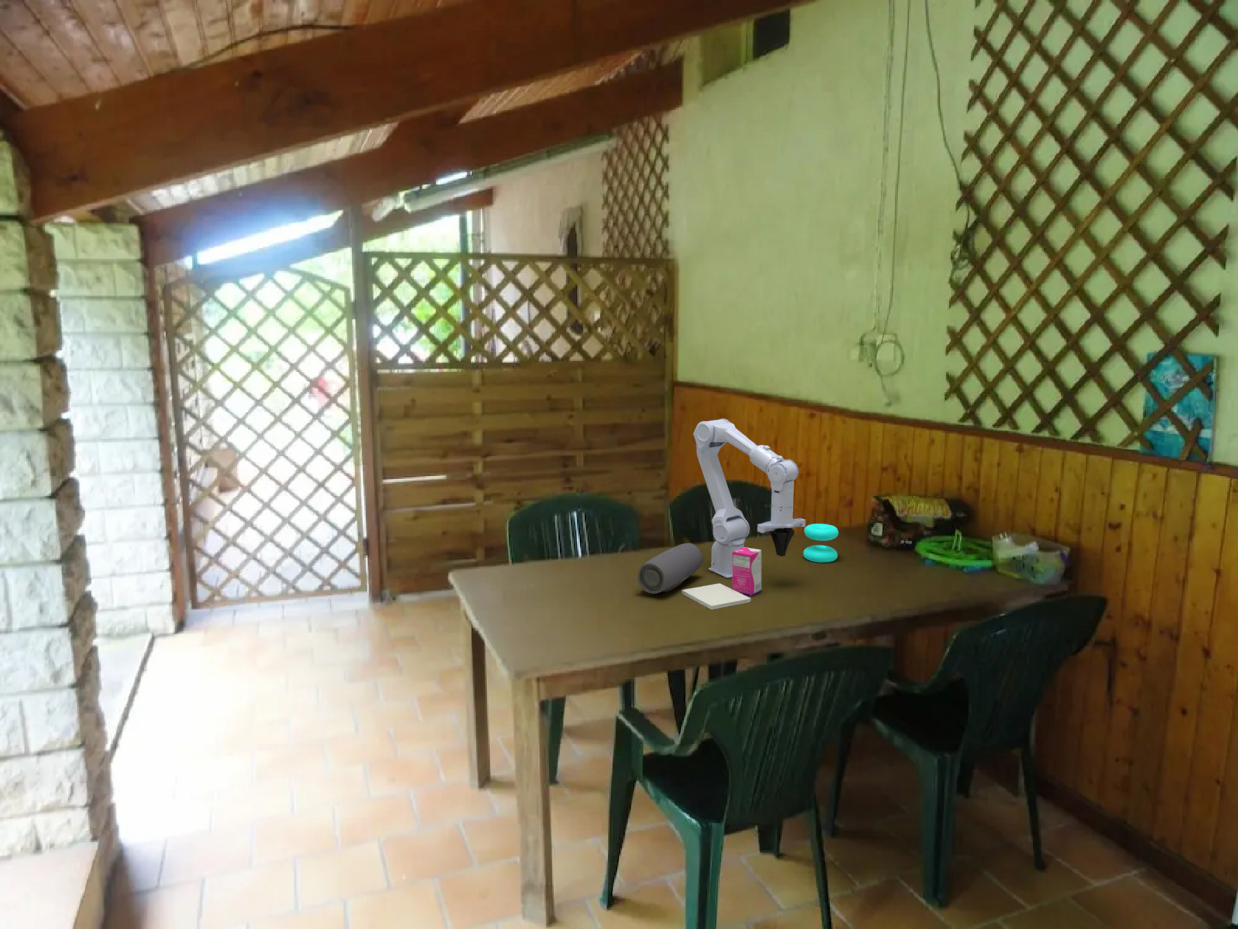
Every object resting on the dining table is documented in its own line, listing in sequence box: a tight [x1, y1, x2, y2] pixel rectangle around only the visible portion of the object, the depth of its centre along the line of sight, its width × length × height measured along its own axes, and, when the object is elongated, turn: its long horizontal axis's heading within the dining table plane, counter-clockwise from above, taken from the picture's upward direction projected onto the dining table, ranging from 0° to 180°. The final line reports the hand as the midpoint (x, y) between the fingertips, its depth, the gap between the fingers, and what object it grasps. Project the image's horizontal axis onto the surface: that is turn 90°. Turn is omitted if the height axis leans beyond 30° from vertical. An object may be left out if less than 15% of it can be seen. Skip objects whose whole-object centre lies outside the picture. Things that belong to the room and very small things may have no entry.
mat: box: [681, 583, 752, 610], centre depth 214 cm, size 14×12×1 cm
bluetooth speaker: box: [637, 542, 704, 595], centre depth 223 cm, size 23×9×10 cm, turn 149°
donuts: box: [803, 523, 839, 564], centre depth 248 cm, size 10×10×10 cm
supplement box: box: [732, 546, 762, 598], centre depth 217 cm, size 6×6×12 cm
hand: (780, 555), depth 222 cm, fingers closed
